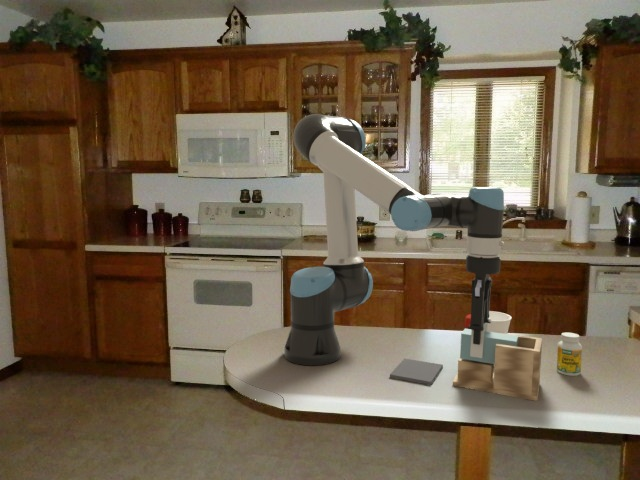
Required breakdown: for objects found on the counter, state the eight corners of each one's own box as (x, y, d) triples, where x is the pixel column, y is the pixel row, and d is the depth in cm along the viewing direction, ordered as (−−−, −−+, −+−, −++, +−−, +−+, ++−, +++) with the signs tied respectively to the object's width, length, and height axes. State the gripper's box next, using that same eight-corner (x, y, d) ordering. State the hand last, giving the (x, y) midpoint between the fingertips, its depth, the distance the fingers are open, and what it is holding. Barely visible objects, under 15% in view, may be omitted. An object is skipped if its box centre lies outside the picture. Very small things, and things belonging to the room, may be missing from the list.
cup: (512, 363, 130) (514, 321, 128) (473, 360, 132) (474, 319, 130) (506, 350, 139) (508, 311, 138) (469, 347, 141) (471, 309, 140)
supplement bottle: (578, 369, 125) (580, 332, 124) (582, 377, 120) (585, 339, 119) (554, 367, 127) (557, 330, 126) (558, 375, 122) (560, 336, 121)
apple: (489, 339, 149) (490, 314, 148) (480, 344, 144) (481, 319, 143) (470, 334, 153) (470, 311, 152) (460, 339, 149) (461, 314, 148)
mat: (389, 377, 120) (389, 374, 120) (404, 361, 131) (404, 358, 131) (431, 385, 116) (431, 381, 116) (442, 367, 126) (442, 364, 126)
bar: (460, 358, 117) (461, 333, 116) (463, 352, 121) (464, 328, 120) (514, 367, 112) (516, 341, 111) (516, 360, 116) (518, 335, 115)
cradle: (452, 385, 115) (454, 339, 114) (460, 370, 124) (462, 327, 123) (537, 400, 107) (539, 351, 106) (539, 383, 116) (542, 338, 115)
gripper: (495, 262, 105) (489, 368, 108) (505, 251, 120) (499, 344, 123) (459, 259, 108) (454, 362, 111) (473, 248, 123) (468, 339, 126)
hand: (478, 353), depth 117 cm, fingers closed on bar, 4 cm apart
